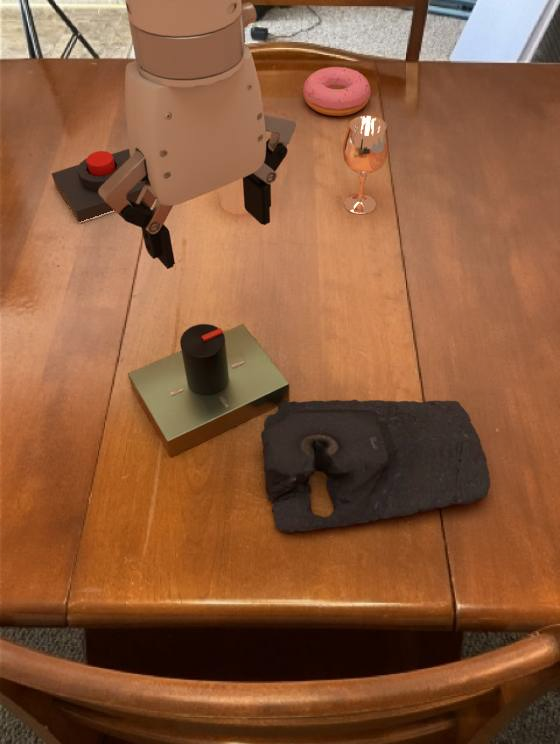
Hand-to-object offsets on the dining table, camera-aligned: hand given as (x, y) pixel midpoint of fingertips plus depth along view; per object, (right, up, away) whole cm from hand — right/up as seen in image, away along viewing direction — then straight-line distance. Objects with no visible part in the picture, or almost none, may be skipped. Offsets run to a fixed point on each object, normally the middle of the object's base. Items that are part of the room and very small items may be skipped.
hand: (211, 237), depth 59 cm
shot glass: (0, +12, +36) cm, 37 cm away
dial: (-2, -12, +12) cm, 17 cm away
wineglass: (+17, +11, +35) cm, 41 cm away
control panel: (-2, -14, +14) cm, 20 cm away
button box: (-19, +14, +37) cm, 44 cm away
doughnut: (+15, +32, +52) cm, 63 cm away
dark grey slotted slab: (+15, -21, +9) cm, 28 cm away
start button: (-19, +16, +34) cm, 42 cm away
